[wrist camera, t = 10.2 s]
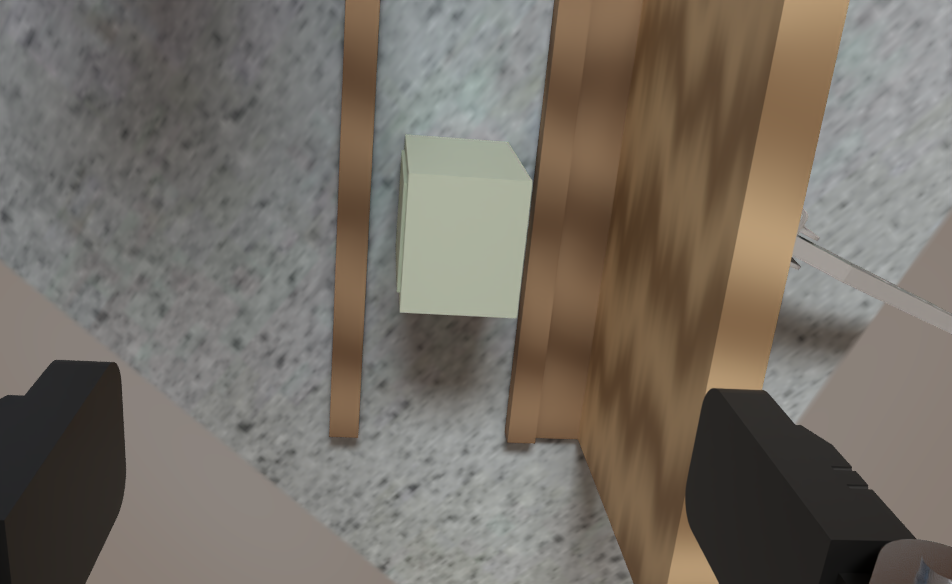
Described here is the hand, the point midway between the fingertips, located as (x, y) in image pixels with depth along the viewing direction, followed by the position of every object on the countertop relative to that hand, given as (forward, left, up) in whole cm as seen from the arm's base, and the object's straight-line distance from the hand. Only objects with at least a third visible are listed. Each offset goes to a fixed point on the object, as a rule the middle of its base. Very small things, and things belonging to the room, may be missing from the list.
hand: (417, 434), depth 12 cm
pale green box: (+5, +3, -32) cm, 33 cm away
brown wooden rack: (+5, +5, -32) cm, 33 cm away
